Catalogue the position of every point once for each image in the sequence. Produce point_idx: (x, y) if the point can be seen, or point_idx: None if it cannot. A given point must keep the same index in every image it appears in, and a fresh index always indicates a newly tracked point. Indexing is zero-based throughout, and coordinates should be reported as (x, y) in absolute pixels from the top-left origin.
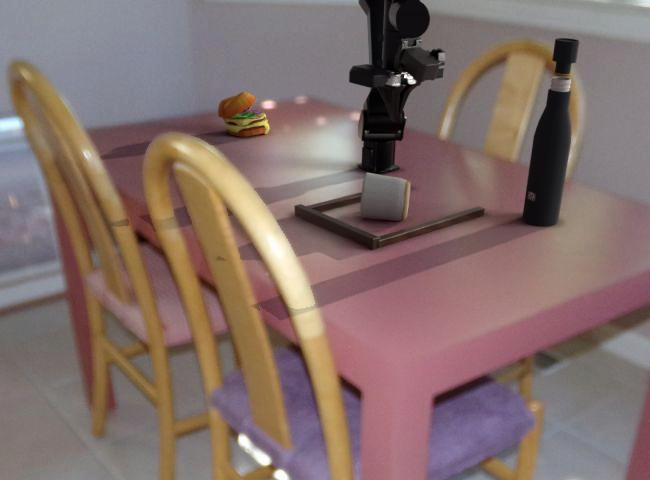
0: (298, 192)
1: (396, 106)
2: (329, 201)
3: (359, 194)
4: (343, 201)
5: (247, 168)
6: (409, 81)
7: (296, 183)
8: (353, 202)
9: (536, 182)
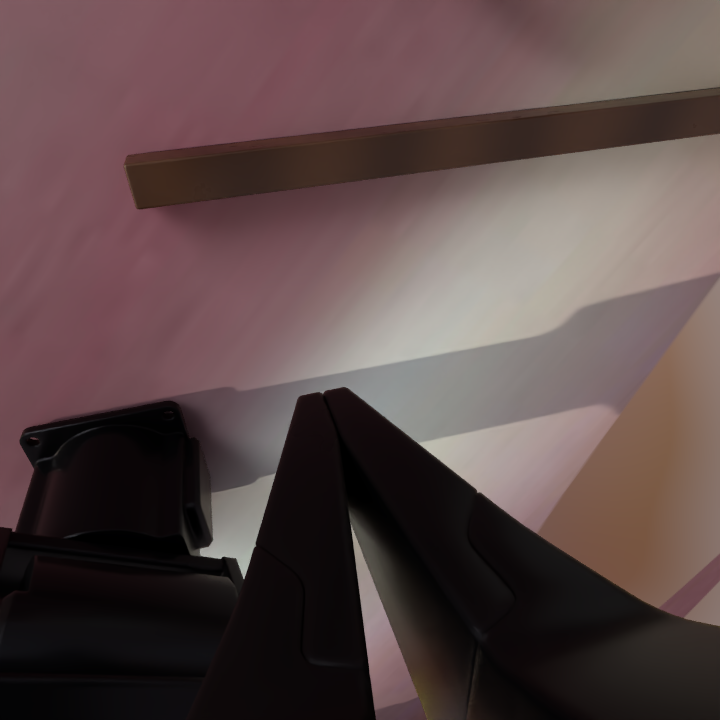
0: (578, 333)
1: (435, 484)
2: (670, 125)
3: (504, 138)
4: (614, 104)
5: None
6: None
7: (512, 412)
8: (544, 109)
9: None
